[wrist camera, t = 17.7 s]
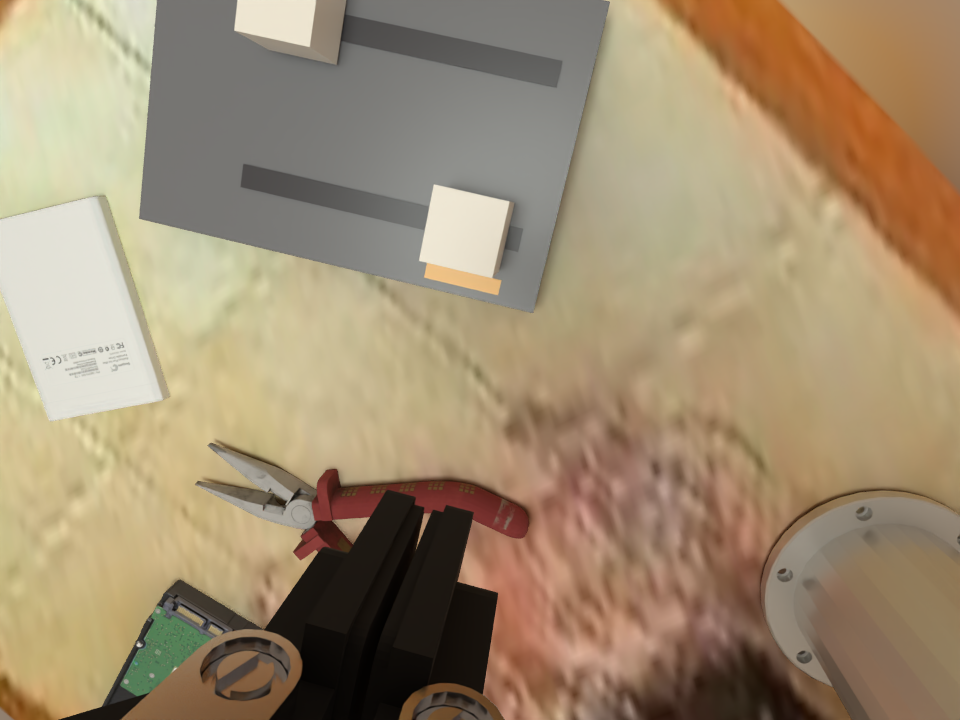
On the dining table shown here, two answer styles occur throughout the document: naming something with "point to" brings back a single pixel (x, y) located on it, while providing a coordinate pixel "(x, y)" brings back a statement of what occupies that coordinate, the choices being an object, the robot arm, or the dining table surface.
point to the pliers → (350, 502)
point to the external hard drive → (77, 310)
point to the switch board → (372, 131)
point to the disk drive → (172, 639)
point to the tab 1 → (293, 26)
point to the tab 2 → (466, 231)
